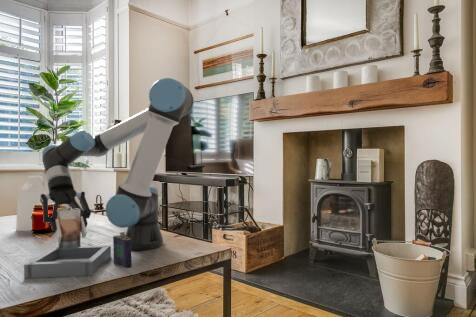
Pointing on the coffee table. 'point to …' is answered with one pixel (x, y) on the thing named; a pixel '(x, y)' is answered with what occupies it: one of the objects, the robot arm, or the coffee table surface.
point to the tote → (68, 262)
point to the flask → (122, 250)
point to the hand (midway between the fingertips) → (72, 236)
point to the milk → (29, 201)
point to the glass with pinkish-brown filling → (69, 228)
